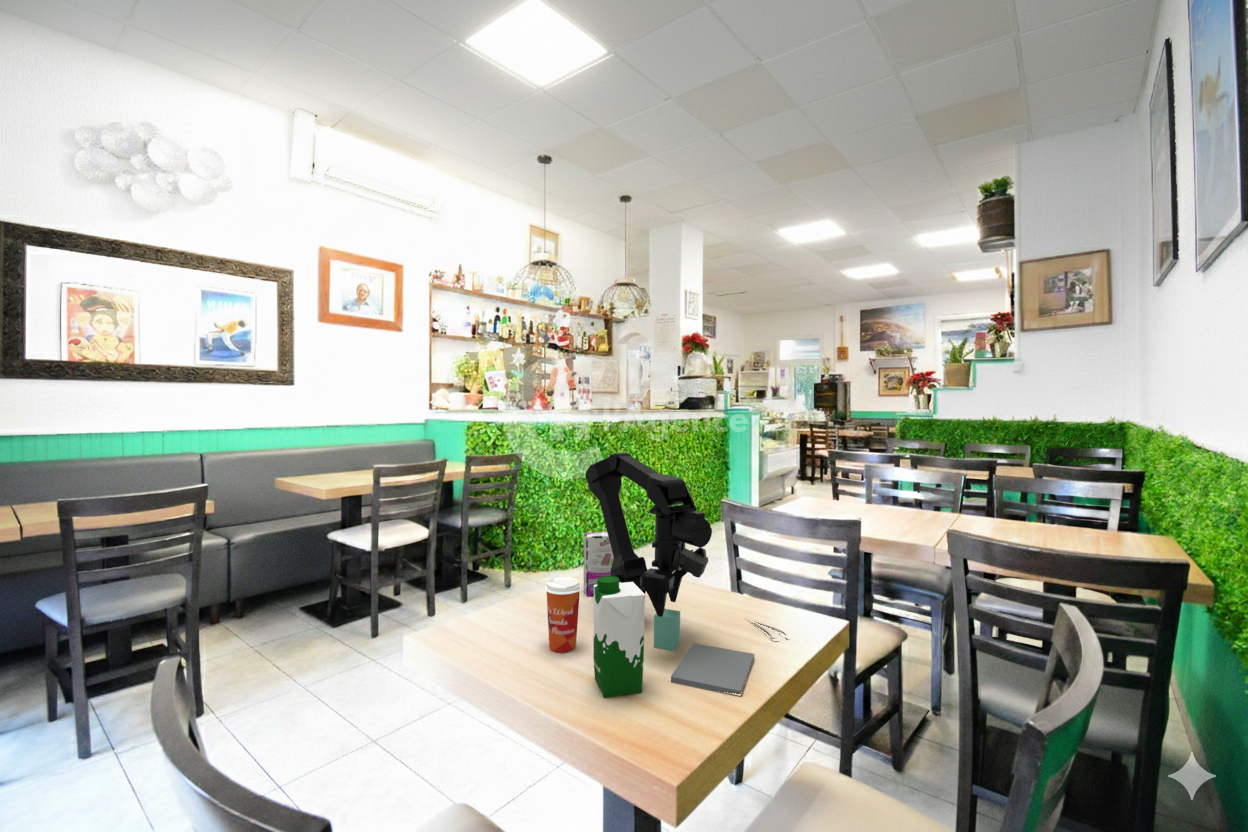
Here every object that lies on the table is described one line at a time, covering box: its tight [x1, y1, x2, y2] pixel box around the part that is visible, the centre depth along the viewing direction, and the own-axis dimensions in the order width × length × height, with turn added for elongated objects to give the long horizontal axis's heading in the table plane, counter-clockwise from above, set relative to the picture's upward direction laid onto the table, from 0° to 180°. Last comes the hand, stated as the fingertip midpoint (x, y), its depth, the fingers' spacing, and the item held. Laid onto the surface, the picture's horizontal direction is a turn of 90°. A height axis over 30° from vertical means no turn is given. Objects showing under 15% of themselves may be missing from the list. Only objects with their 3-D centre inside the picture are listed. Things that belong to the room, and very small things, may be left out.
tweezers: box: [745, 618, 788, 640], centre depth 130 cm, size 17×5×2 cm, turn 24°
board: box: [670, 642, 755, 695], centre depth 108 cm, size 13×16×1 cm
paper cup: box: [544, 576, 582, 654], centre depth 117 cm, size 8×8×14 cm
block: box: [653, 608, 681, 652], centre depth 119 cm, size 4×4×7 cm
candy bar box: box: [583, 531, 614, 597], centre depth 152 cm, size 11×5×16 cm, turn 105°
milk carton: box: [593, 576, 646, 699], centre depth 101 cm, size 9×9×20 cm
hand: (667, 608), depth 119 cm, fingers open, 9 cm apart
